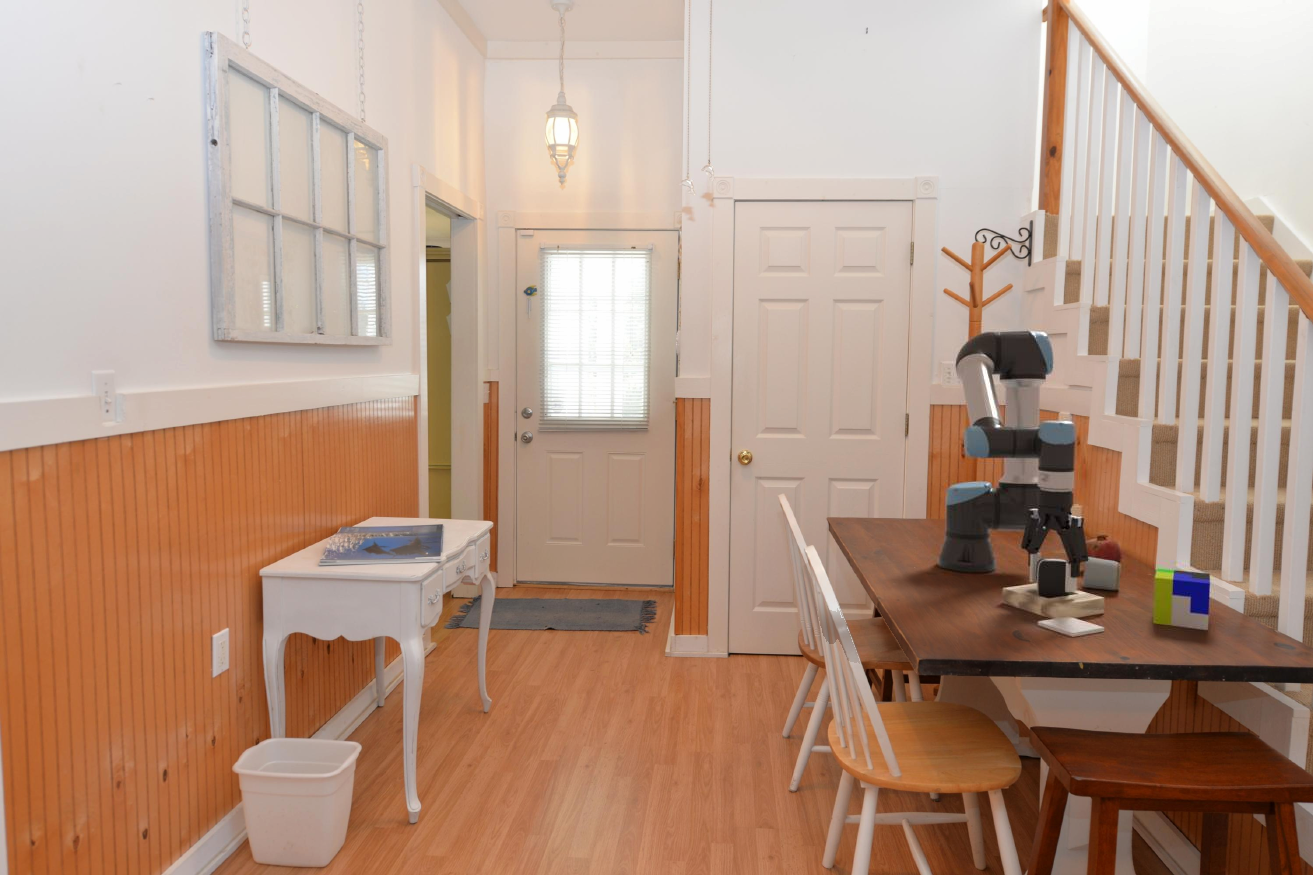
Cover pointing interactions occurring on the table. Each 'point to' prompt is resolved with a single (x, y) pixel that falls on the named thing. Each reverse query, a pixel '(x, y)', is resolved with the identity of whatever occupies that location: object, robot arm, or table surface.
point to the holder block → (1053, 602)
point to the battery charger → (1051, 578)
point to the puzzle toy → (1181, 598)
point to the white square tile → (1071, 626)
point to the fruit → (1104, 549)
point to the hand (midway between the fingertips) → (1052, 586)
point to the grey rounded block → (1101, 574)
